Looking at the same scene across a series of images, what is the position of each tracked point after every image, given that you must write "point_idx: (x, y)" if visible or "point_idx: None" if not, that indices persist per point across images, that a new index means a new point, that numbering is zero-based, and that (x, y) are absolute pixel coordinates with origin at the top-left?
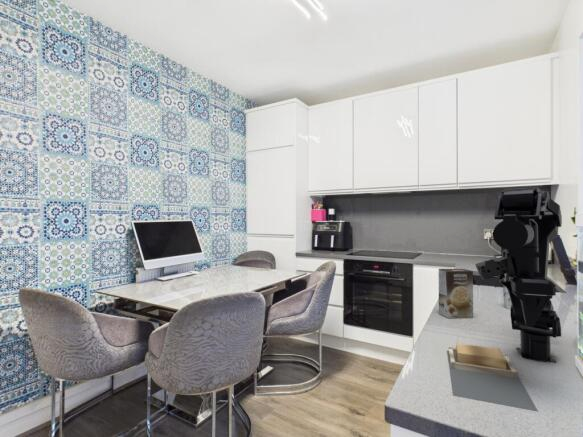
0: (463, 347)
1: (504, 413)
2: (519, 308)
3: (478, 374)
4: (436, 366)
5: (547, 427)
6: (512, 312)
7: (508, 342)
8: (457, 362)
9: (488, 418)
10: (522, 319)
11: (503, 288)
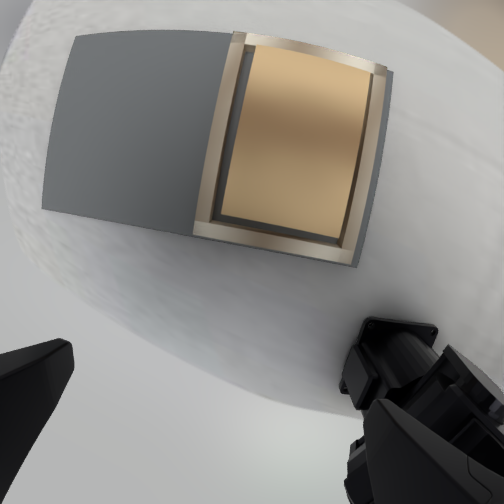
0: (325, 82)
1: (37, 136)
2: (374, 446)
3: (200, 111)
4: (259, 9)
5: (15, 205)
6: (472, 388)
7: (480, 322)
8: (240, 50)
9: (22, 102)
10: (416, 406)
11: None
